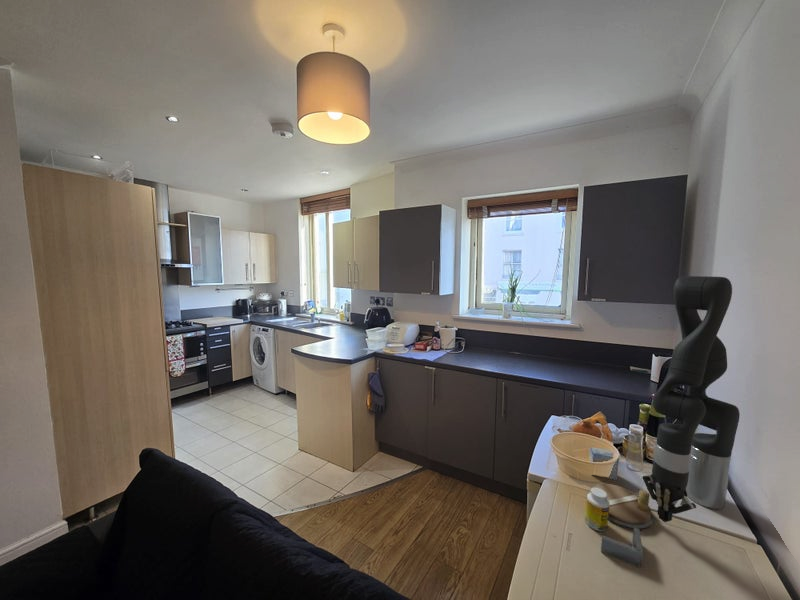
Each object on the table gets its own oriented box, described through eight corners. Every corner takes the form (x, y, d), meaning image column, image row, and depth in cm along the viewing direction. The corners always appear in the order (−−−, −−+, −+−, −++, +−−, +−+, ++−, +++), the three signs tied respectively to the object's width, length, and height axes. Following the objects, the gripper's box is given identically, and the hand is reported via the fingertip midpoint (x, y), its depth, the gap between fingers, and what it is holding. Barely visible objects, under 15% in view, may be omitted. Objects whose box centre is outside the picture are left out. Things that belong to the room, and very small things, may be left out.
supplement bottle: (601, 535, 88) (604, 502, 87) (581, 521, 93) (583, 490, 91) (610, 526, 91) (614, 494, 90) (590, 513, 96) (593, 482, 94)
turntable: (617, 483, 106) (619, 466, 106) (664, 519, 92) (666, 499, 91) (580, 491, 103) (582, 473, 102) (622, 529, 89) (624, 509, 88)
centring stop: (634, 539, 87) (636, 526, 86) (659, 561, 80) (660, 547, 80) (598, 549, 84) (599, 535, 83) (620, 572, 78) (622, 558, 77)
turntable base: (617, 485, 107) (617, 483, 107) (666, 524, 92) (667, 521, 92) (577, 494, 104) (578, 491, 103) (622, 535, 88) (622, 532, 88)
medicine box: (613, 472, 114) (615, 450, 113) (617, 481, 110) (619, 458, 109) (588, 468, 116) (590, 446, 115) (591, 475, 112) (593, 453, 111)
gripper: (709, 476, 81) (701, 536, 83) (656, 446, 94) (650, 499, 96) (687, 481, 79) (679, 543, 81) (636, 450, 92) (631, 504, 94)
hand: (664, 519), depth 89 cm, fingers closed
